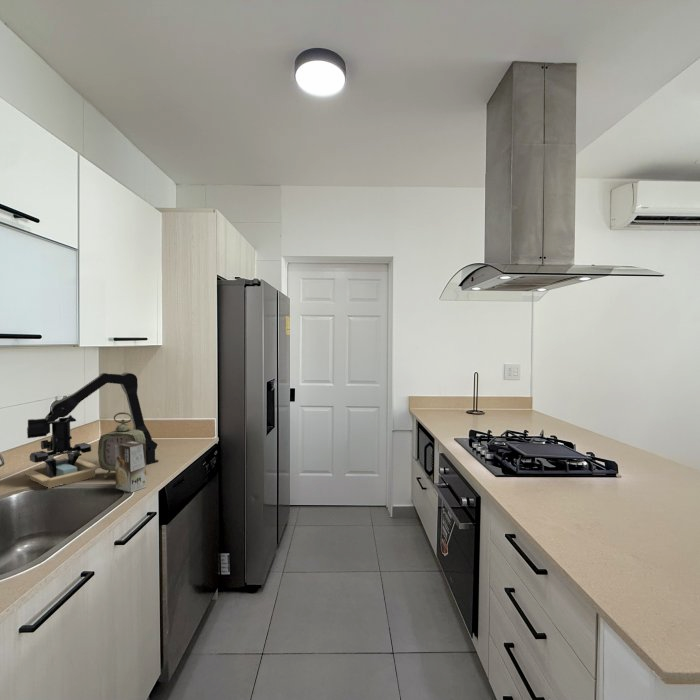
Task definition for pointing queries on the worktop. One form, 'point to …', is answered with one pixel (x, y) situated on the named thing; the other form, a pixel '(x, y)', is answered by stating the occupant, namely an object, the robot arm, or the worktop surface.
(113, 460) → the tabletop clock
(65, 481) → the tan shallow rectangular tray
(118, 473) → the coffee box
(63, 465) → the box
